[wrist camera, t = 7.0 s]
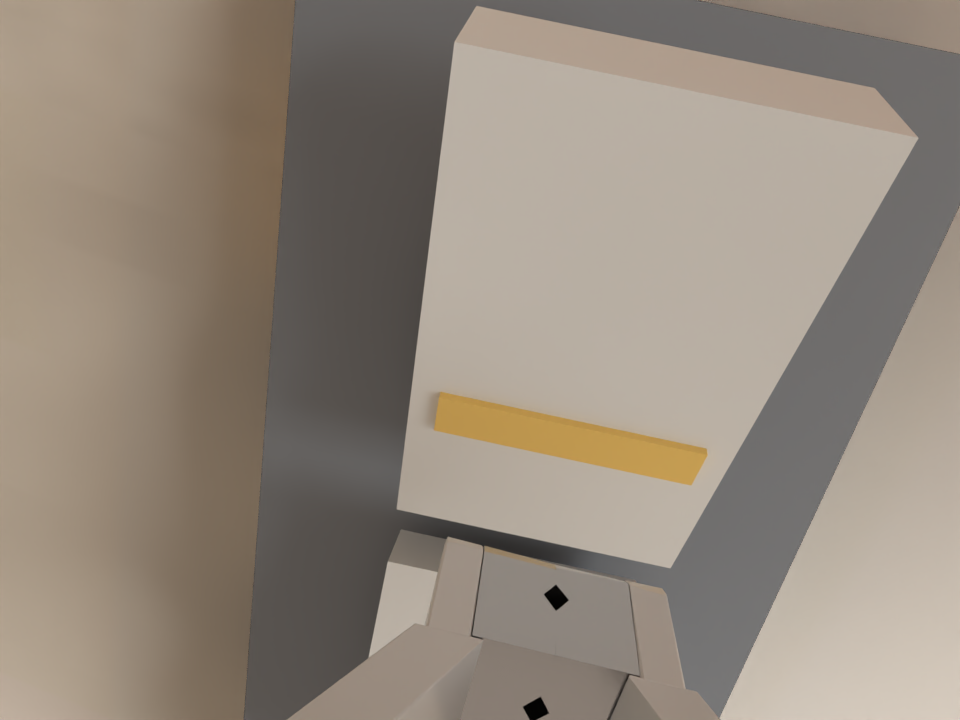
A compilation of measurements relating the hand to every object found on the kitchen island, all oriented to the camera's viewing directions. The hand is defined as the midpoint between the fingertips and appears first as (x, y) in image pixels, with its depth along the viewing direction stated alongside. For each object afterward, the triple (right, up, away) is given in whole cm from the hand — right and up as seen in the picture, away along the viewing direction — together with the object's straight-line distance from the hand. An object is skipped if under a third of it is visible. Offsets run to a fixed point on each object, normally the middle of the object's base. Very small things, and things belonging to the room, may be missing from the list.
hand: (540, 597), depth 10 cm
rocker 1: (+1, +4, +2) cm, 4 cm away
